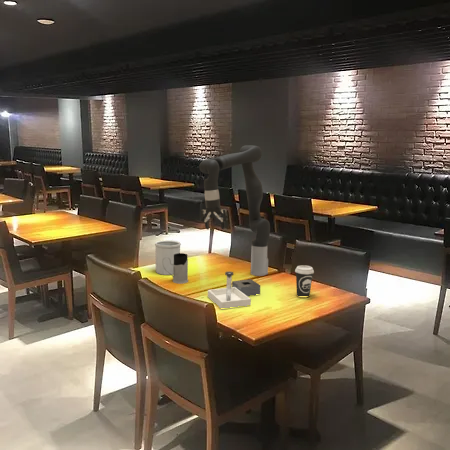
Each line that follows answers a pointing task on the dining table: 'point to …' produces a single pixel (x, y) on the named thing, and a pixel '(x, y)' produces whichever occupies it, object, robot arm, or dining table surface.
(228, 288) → the steel pin
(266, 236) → the robot arm
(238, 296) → the plastic tray
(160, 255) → the utensil holder
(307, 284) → the coffee cup
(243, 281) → the bracket
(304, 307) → the dining table surface
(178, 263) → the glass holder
